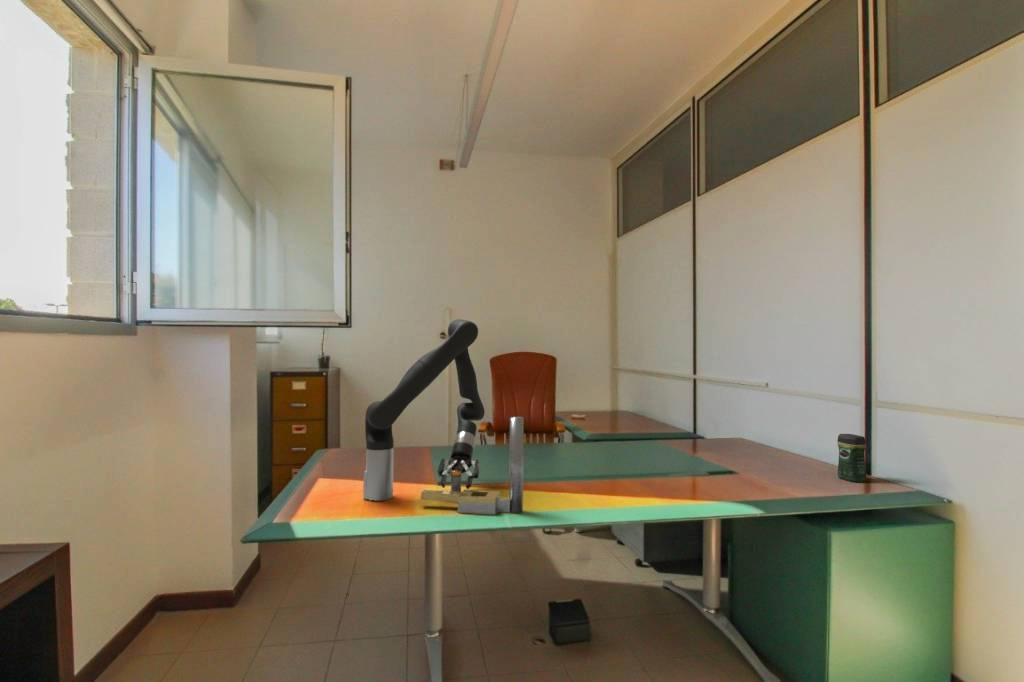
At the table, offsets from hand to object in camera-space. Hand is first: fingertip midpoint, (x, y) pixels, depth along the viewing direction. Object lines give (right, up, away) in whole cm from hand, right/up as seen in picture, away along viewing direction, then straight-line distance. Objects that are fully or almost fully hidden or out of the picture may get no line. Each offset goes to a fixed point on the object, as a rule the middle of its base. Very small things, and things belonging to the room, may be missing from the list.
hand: (455, 487), depth 173 cm
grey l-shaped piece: (+6, -5, -9) cm, 12 cm away
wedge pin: (0, -5, +1) cm, 5 cm away
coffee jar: (+158, -7, +34) cm, 162 cm away
